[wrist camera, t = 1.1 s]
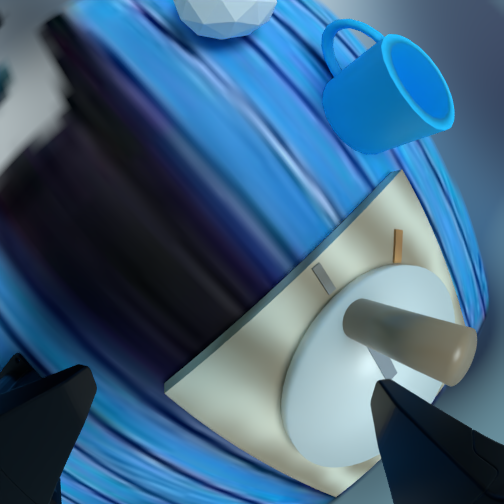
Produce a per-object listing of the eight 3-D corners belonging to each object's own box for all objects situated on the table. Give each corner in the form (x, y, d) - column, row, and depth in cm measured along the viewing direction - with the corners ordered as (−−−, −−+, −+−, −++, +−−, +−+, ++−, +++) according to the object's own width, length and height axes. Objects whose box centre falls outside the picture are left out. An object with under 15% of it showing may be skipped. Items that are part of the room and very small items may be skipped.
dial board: (330, 490, 23) (336, 497, 22) (164, 383, 18) (164, 395, 16) (461, 342, 28) (470, 345, 27) (390, 172, 23) (403, 169, 21)
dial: (456, 355, 25) (521, 378, 15) (341, 479, 21) (394, 534, 11) (409, 217, 21) (513, 211, 11) (227, 387, 17) (286, 502, 7)
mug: (402, 133, 23) (463, 111, 16) (359, 170, 22) (433, 148, 14) (333, 40, 21) (379, -4, 13) (276, 59, 19) (321, 0, 12)
